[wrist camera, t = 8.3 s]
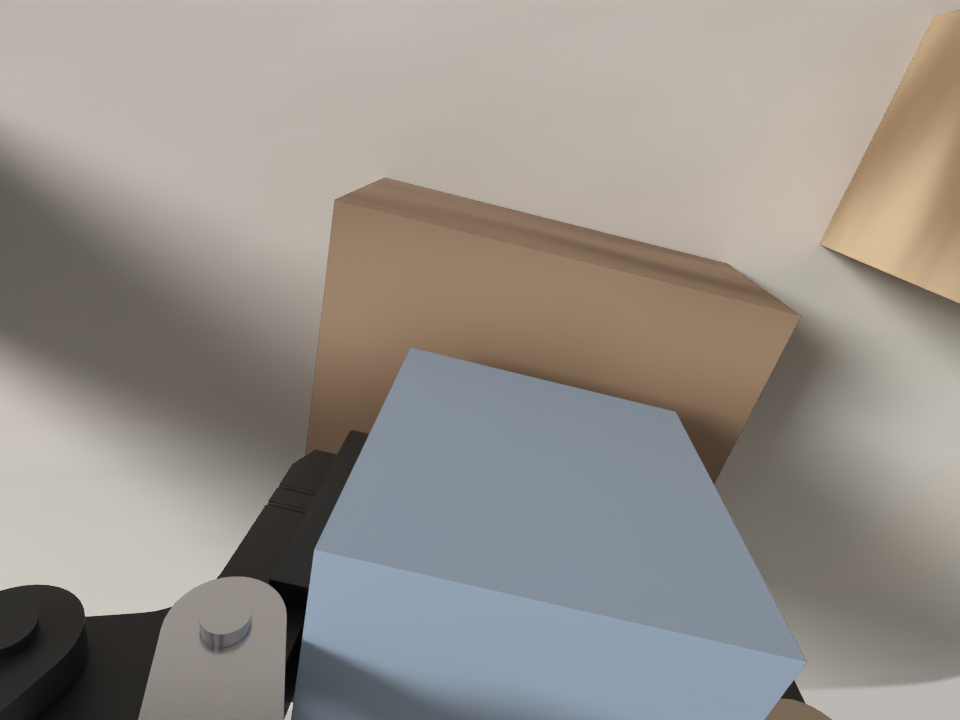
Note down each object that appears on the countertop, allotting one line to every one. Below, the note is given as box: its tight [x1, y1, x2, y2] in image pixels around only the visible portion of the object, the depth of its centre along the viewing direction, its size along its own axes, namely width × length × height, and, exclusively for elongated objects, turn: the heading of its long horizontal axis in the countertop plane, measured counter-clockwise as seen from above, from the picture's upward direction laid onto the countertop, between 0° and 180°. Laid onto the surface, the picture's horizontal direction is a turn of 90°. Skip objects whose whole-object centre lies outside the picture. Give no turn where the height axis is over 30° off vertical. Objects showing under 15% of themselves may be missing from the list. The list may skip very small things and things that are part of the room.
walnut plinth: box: [305, 178, 801, 484], centre depth 14 cm, size 9×9×4 cm
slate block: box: [291, 348, 807, 720], centre depth 9 cm, size 5×5×5 cm
